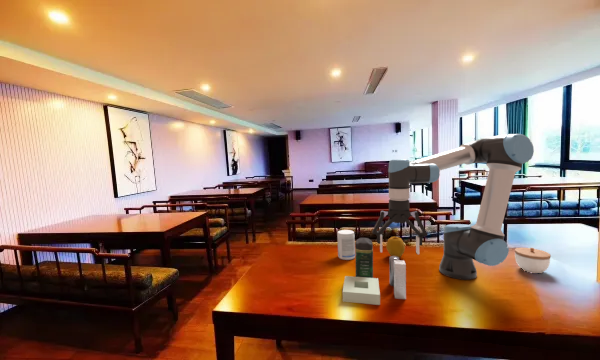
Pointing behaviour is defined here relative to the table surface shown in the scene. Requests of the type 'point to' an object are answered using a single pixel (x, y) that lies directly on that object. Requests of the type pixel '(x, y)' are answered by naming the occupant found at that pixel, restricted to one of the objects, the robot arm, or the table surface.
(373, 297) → the socket block
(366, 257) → the coffee jar
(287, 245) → the table surface
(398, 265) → the square bit
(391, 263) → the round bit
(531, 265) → the dishware bowl
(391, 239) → the apple
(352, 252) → the supplement tub
